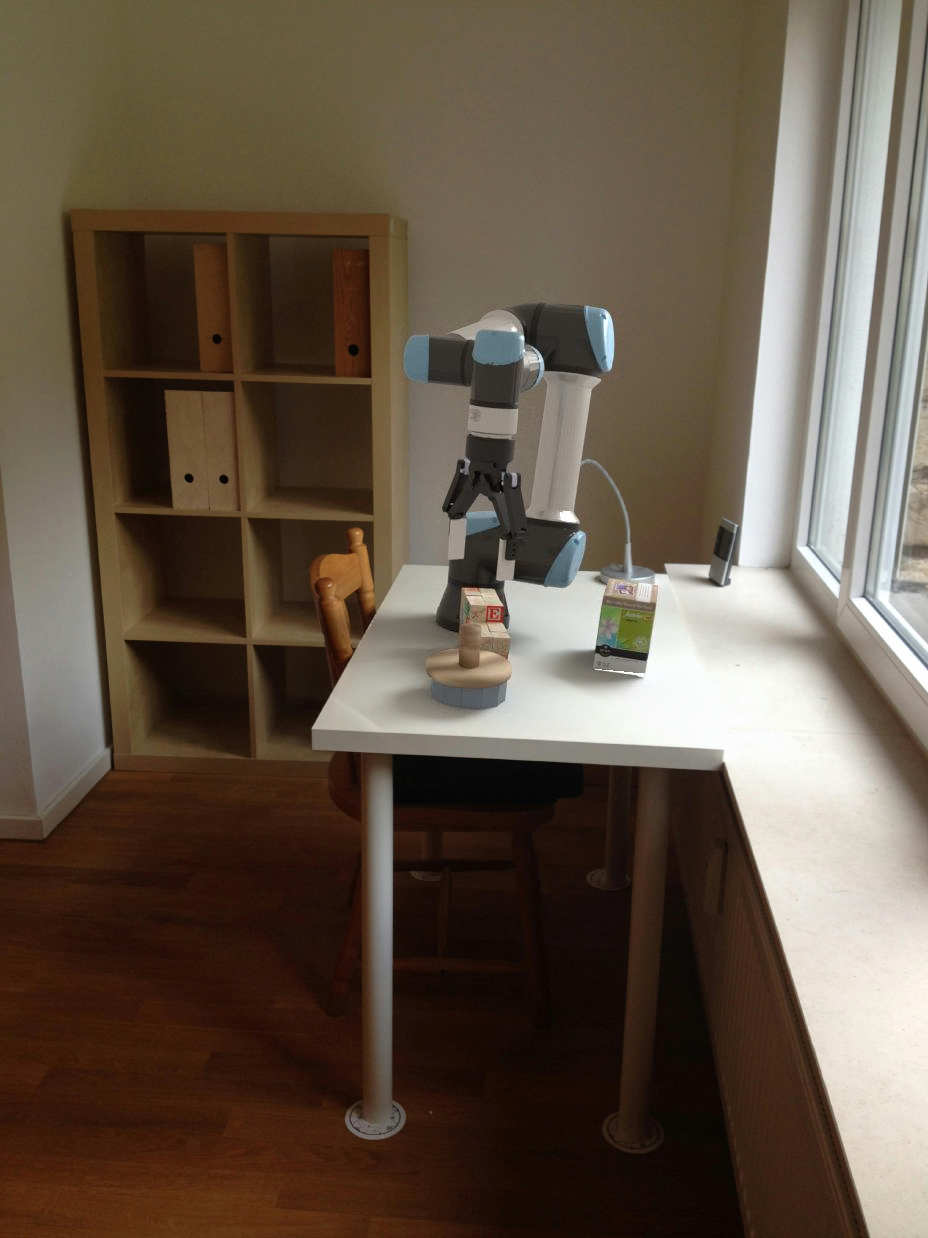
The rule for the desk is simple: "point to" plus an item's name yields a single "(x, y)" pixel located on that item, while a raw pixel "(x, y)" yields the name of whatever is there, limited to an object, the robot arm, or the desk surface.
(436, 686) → the bowl
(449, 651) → the lid
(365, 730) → the desk surface
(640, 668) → the tea box
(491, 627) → the stack of blocks
